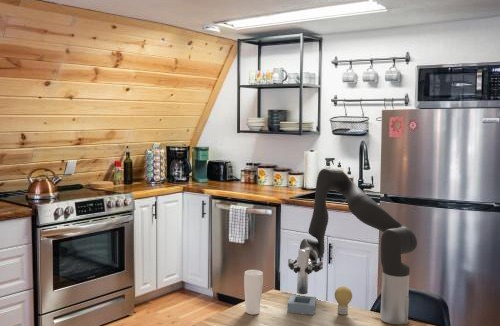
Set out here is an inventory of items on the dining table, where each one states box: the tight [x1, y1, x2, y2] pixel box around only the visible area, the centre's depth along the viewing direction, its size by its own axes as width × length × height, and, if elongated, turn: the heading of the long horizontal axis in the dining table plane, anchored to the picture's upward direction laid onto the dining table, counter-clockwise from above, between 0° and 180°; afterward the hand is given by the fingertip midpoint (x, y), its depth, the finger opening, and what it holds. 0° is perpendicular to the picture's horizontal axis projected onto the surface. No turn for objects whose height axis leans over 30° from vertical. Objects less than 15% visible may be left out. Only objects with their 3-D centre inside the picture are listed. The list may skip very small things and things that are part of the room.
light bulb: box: [334, 286, 353, 316], centre depth 191 cm, size 6×6×10 cm
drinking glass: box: [243, 269, 264, 316], centre depth 189 cm, size 7×7×15 cm
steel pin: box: [296, 248, 309, 295], centre depth 193 cm, size 4×4×16 cm
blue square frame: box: [286, 294, 317, 316], centre depth 194 cm, size 10×10×4 cm
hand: (302, 271), depth 191 cm, fingers closed on steel pin, 4 cm apart
